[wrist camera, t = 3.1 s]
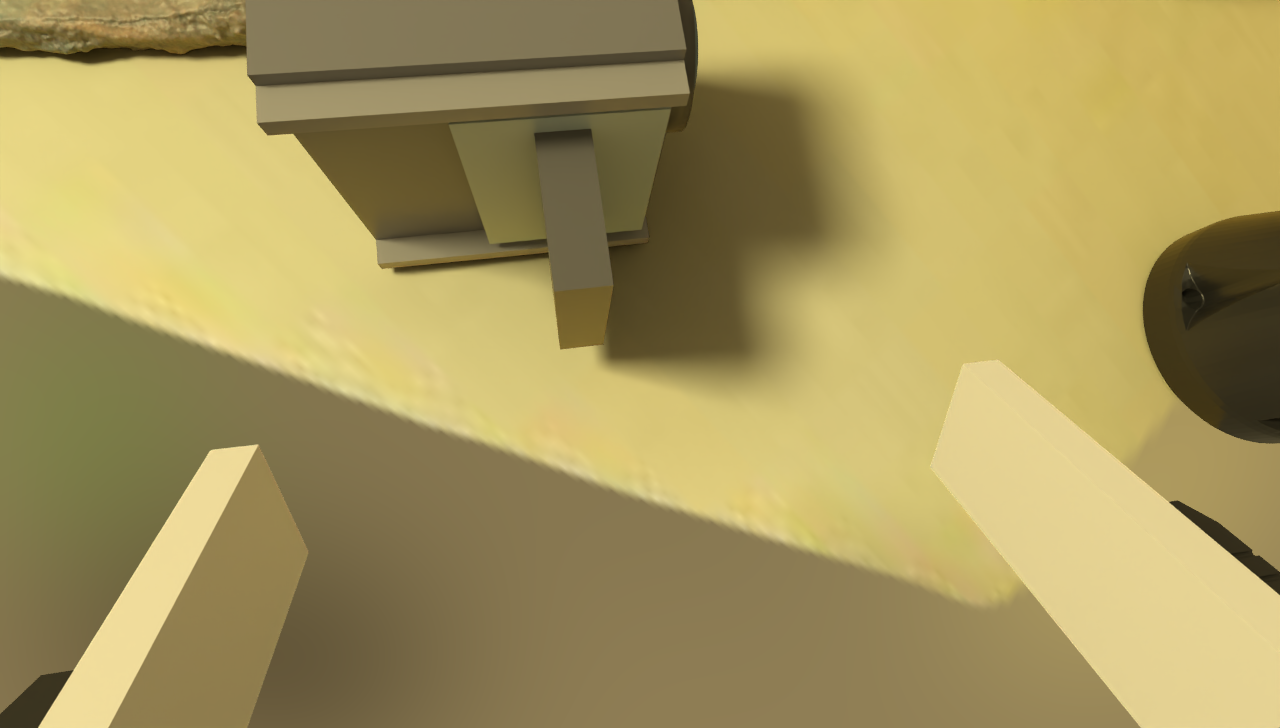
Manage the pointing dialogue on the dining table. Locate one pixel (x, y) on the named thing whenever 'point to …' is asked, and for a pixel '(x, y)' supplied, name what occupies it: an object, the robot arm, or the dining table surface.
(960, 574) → the dining table surface
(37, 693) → the robot arm
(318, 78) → the camera box
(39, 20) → the long grey stone
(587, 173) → the door
